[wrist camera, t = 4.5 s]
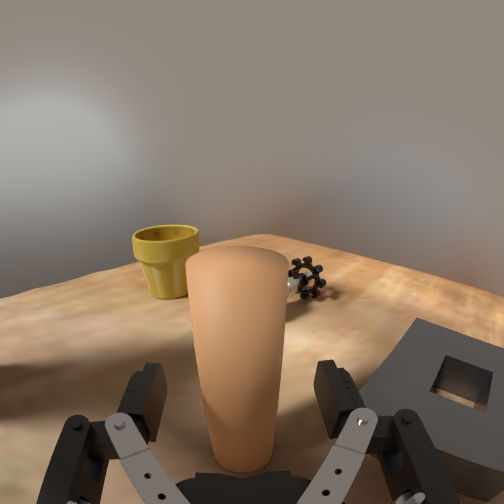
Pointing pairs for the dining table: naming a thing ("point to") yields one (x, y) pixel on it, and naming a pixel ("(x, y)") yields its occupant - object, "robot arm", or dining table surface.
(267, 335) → the peg
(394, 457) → the robot arm
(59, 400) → the dining table surface
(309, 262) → the valve
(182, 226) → the plant pot
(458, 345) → the socket block
